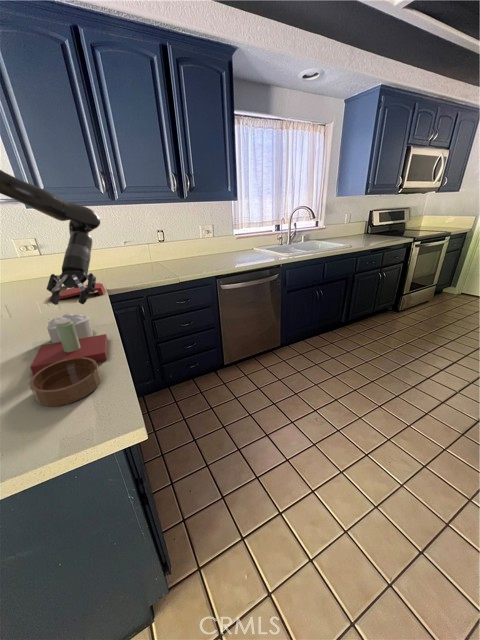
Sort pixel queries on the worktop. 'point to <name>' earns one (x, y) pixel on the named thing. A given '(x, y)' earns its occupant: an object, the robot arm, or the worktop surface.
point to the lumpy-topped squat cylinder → (79, 322)
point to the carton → (76, 291)
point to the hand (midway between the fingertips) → (68, 303)
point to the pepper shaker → (67, 335)
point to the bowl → (65, 381)
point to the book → (54, 352)
